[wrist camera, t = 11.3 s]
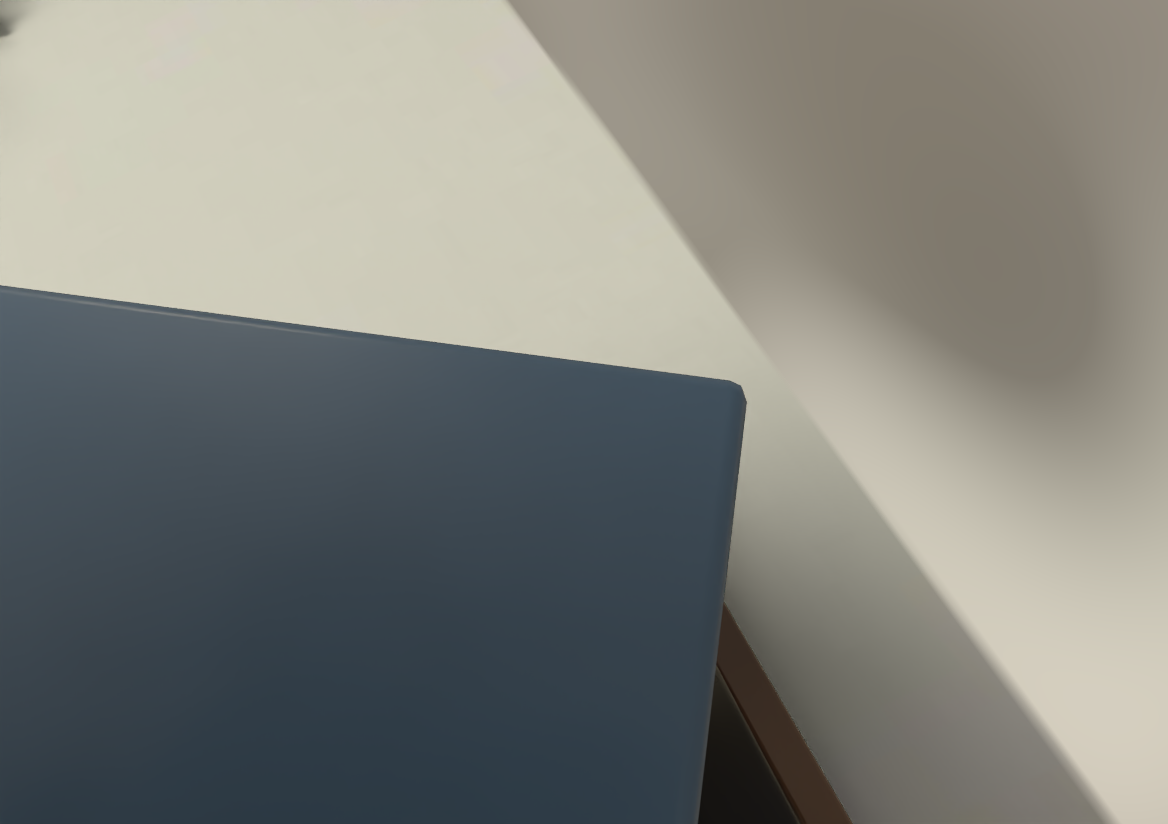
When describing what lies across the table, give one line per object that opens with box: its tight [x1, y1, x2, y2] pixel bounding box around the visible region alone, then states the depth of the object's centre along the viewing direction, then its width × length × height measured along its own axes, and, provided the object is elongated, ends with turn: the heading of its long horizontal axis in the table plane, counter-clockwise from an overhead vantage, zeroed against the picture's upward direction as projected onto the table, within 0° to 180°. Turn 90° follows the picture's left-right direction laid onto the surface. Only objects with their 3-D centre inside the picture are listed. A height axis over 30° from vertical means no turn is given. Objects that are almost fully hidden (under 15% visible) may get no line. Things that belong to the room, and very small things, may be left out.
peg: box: [0, 285, 747, 824], centre depth 8 cm, size 4×4×12 cm
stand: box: [716, 602, 853, 824], centre depth 12 cm, size 8×8×2 cm
